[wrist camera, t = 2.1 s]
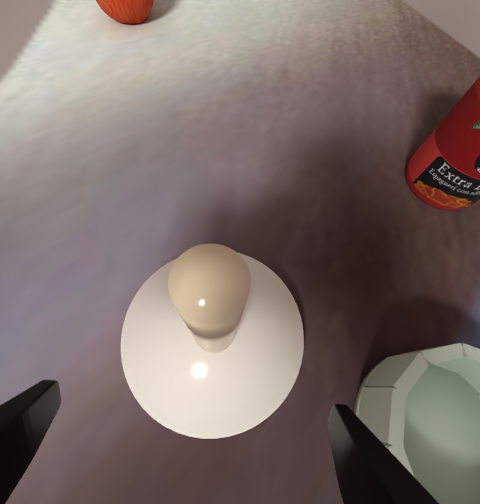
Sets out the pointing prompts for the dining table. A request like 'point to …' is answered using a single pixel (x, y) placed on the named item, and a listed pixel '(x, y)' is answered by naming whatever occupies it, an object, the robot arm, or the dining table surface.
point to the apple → (126, 9)
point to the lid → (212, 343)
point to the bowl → (429, 417)
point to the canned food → (450, 158)
